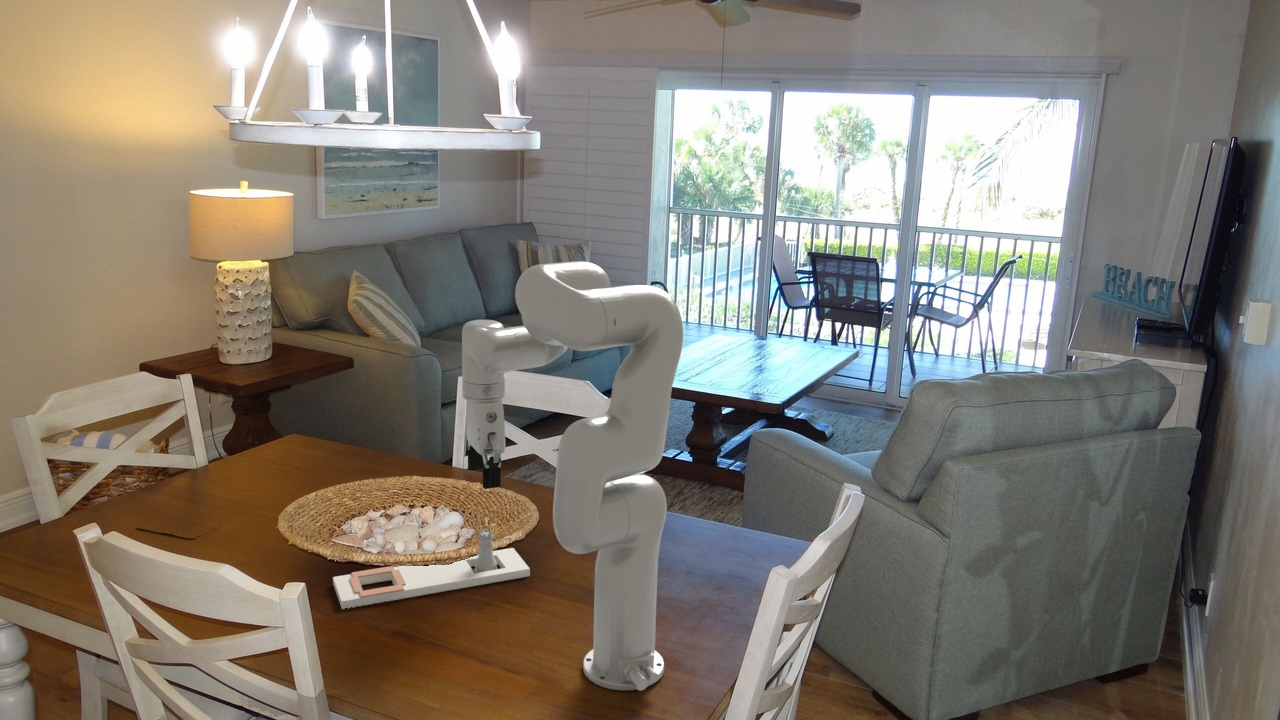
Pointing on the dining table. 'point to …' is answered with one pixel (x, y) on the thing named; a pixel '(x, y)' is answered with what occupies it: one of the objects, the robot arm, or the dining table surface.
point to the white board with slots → (425, 579)
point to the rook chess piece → (485, 552)
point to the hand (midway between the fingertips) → (483, 478)
